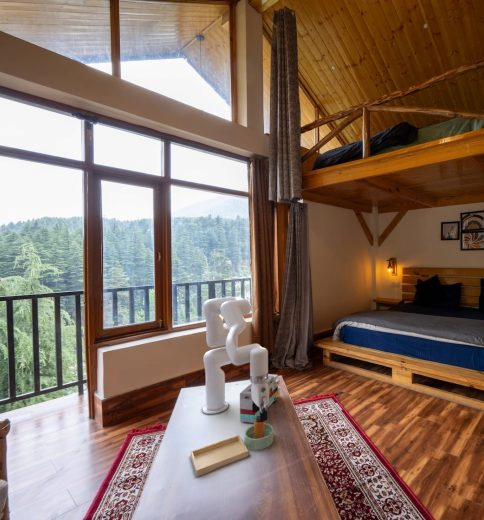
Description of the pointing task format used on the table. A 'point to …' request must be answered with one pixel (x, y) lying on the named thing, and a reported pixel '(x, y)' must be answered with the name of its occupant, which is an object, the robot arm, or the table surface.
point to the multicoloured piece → (246, 399)
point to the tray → (218, 455)
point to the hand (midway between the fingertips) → (259, 416)
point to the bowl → (259, 443)
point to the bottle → (258, 428)
